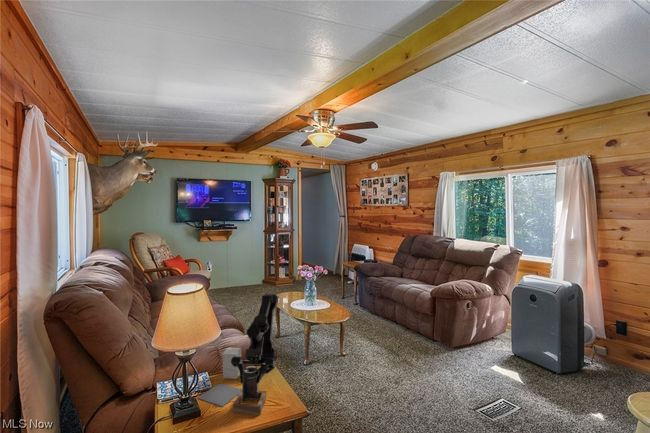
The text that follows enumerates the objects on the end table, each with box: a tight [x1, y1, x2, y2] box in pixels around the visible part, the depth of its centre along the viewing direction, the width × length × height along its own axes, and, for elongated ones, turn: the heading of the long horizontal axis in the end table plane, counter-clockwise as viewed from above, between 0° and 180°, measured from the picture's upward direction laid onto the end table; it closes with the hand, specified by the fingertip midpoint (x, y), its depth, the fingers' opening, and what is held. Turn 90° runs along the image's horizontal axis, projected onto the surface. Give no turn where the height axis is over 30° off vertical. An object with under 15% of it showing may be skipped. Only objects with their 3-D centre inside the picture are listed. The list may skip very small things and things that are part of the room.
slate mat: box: [197, 382, 242, 408], centre depth 156 cm, size 14×14×1 cm
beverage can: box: [241, 365, 260, 399], centre depth 148 cm, size 7×7×12 cm
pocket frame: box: [232, 390, 267, 416], centre depth 148 cm, size 12×12×4 cm
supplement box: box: [222, 347, 242, 380], centre depth 173 cm, size 7×7×13 cm
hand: (249, 383), depth 146 cm, fingers closed on beverage can, 7 cm apart
